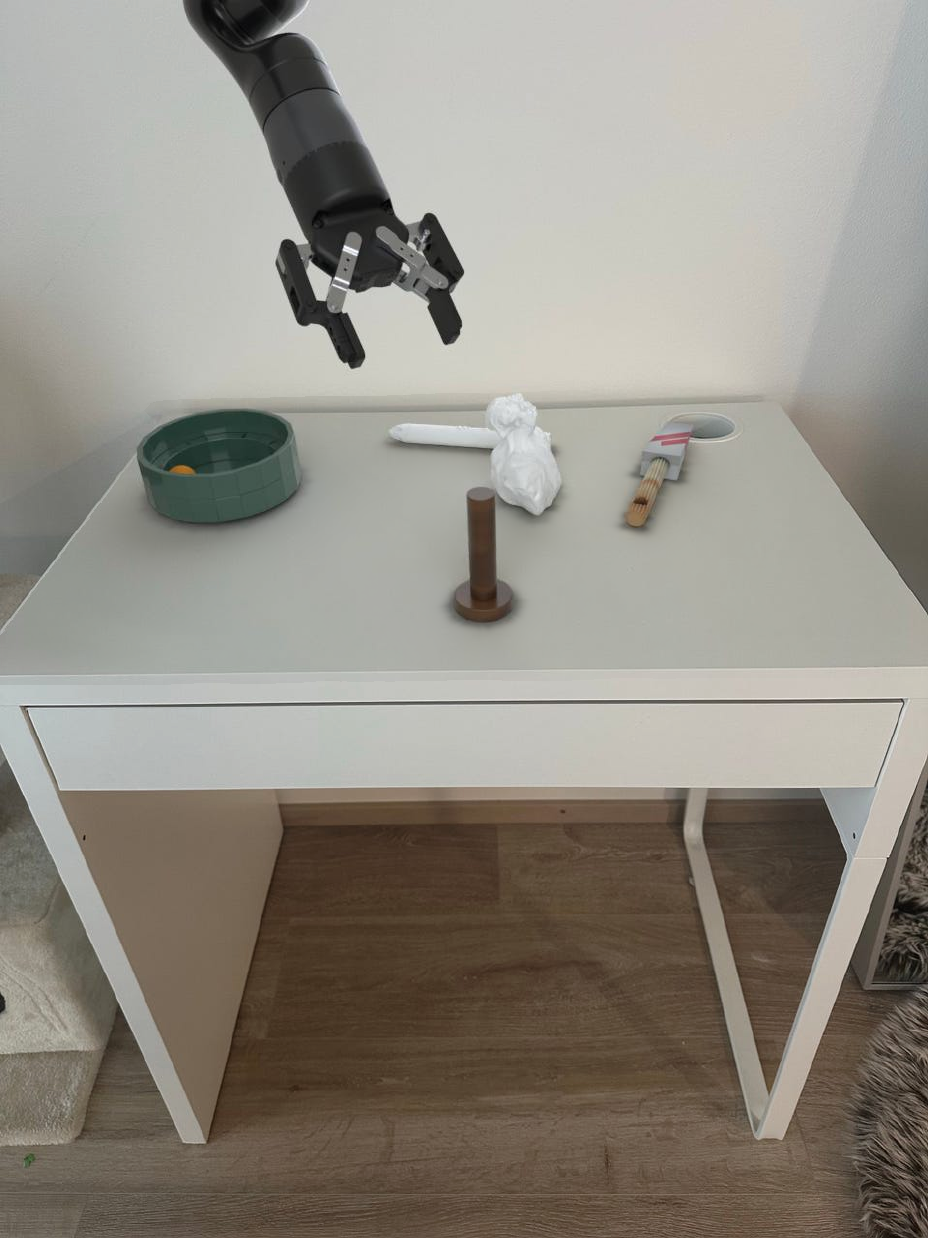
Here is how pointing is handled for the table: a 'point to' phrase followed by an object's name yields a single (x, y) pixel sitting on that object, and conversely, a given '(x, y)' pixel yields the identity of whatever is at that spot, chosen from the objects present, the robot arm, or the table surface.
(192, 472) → the bead
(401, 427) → the marker
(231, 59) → the robot arm
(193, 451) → the bowl
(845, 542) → the table surface
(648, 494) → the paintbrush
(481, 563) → the wooden peg stand
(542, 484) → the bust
